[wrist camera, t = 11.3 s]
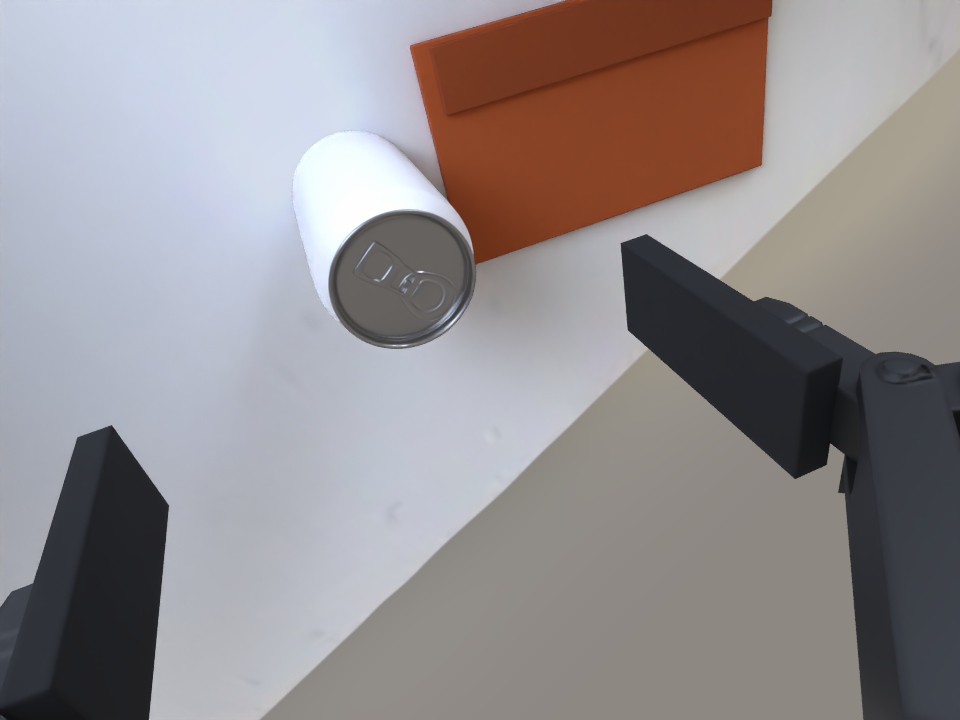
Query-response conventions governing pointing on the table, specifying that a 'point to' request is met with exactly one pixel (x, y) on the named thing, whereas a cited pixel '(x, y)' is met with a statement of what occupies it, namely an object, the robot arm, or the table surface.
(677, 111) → the orange envelope wallet
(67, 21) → the table surface
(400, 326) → the can
